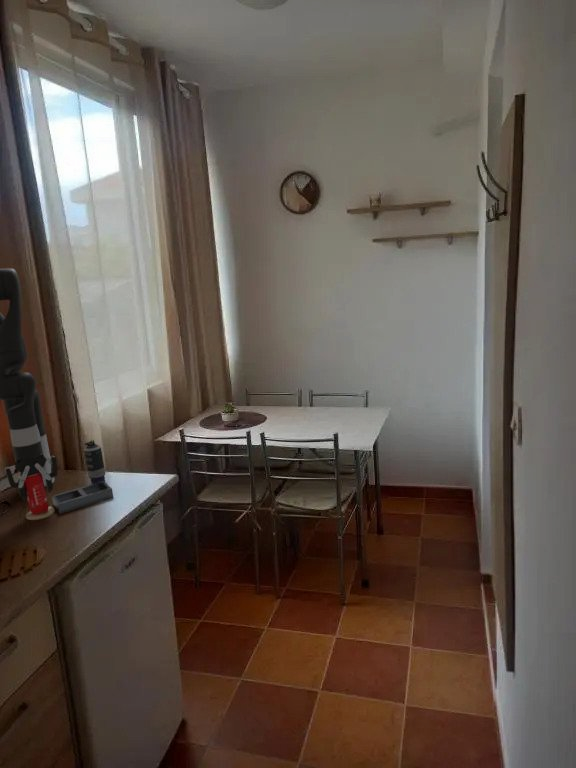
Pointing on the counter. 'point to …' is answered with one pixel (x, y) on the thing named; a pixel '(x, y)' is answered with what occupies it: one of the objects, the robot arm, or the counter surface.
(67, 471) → the counter surface
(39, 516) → the coaster
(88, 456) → the grenade
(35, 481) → the beverage can
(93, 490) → the rack frame
